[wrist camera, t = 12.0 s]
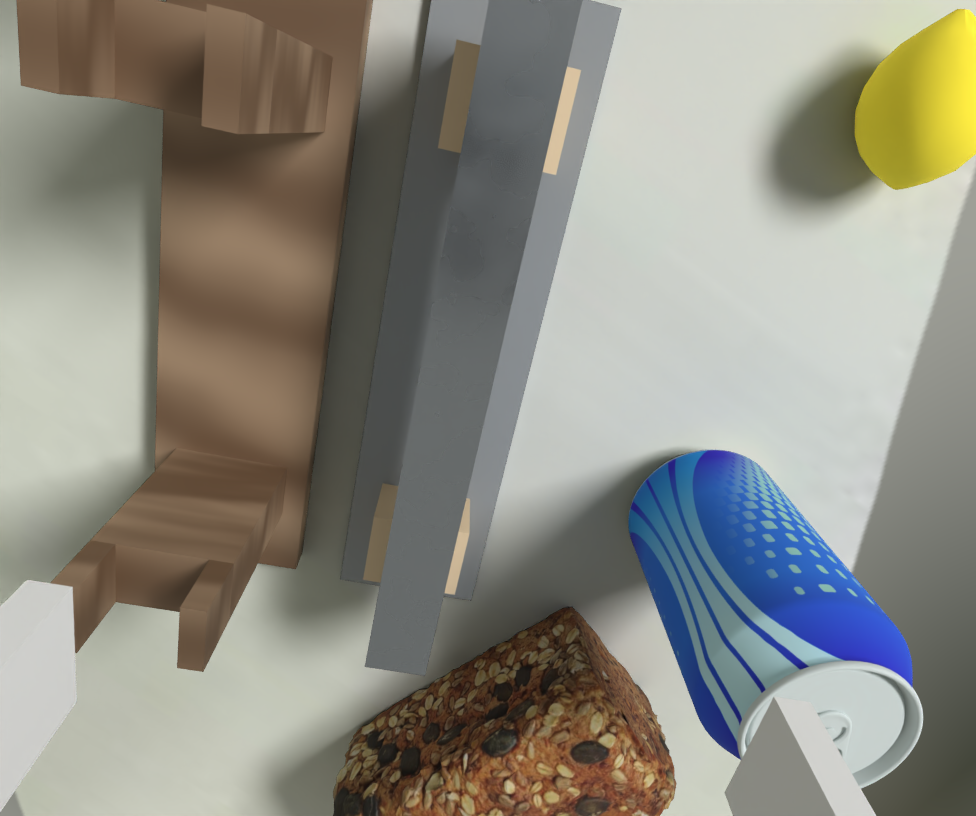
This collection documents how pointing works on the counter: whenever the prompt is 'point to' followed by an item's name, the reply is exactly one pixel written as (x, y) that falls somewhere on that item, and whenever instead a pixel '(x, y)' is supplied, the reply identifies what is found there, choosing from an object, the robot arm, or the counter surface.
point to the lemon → (921, 105)
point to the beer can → (769, 613)
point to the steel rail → (470, 312)
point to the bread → (516, 737)
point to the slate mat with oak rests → (416, 271)
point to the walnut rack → (220, 279)
